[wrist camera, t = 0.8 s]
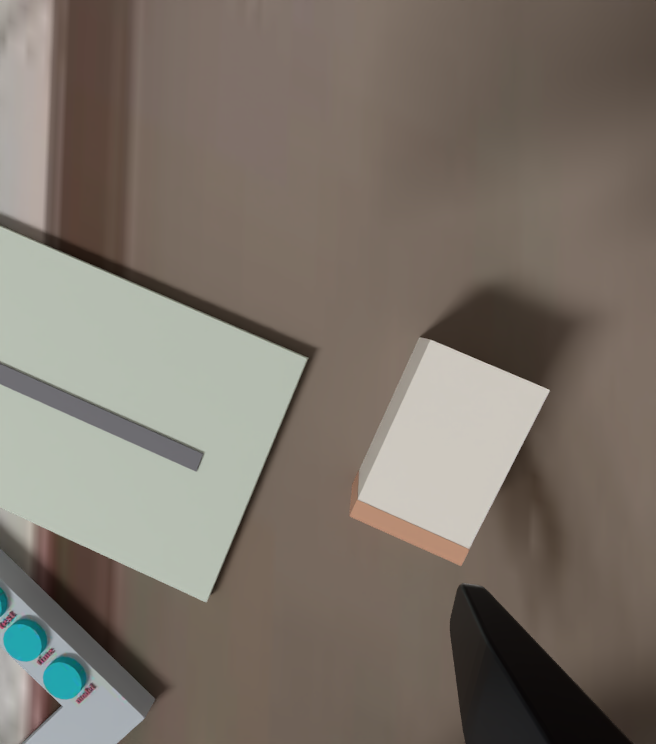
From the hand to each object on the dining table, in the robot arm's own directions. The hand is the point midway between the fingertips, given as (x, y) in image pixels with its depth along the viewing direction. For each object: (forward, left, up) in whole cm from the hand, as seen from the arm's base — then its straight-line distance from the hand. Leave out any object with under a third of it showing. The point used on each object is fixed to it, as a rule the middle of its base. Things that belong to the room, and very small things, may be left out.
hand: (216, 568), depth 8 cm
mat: (+10, +4, -13) cm, 17 cm away
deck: (-6, -2, -13) cm, 14 cm away
